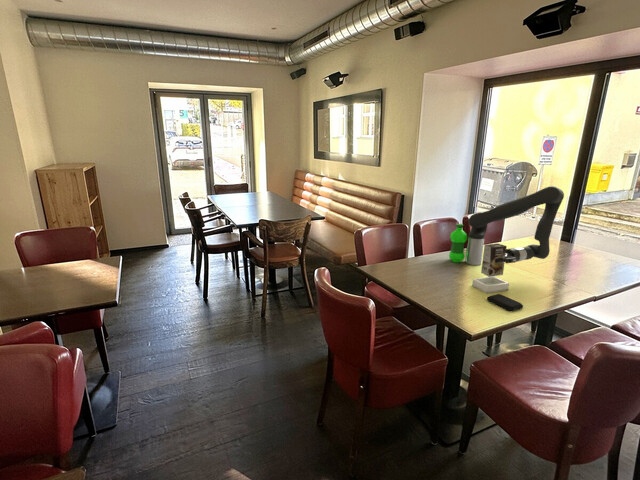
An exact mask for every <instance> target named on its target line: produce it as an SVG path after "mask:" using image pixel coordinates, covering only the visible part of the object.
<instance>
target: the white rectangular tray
mask: <svg viewBox="0 0 640 480" xmlns="http://www.w3.org/2000/svg"><path fill="white" fill-rule="evenodd" d="M471 286H472V287H473V288H475V289H477V290H479V291H480V292H483V293H485V294H493V293H499V292H504V291H505V292H506V291H508V290H509V286H510V282H508V281H506V280H503V279H501V278H498V277H497V276H491V277H488V276H483V277H479V278H473V279H472V284H471Z"/></svg>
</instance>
